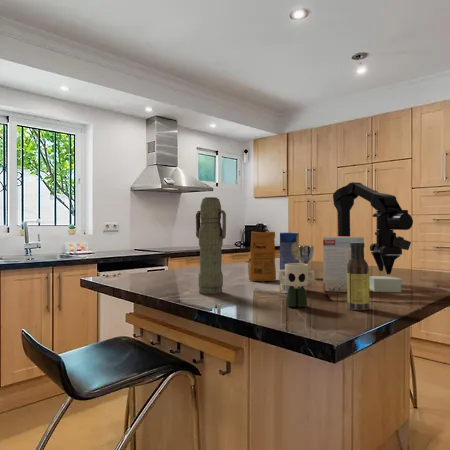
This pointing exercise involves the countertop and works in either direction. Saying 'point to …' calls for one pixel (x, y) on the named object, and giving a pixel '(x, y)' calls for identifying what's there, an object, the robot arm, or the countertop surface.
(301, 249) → the wine glass
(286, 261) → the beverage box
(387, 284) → the sage cover
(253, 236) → the coffee package
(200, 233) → the thermos
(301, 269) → the toy figurine
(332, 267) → the cracker box
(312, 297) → the countertop surface
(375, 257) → the robot arm
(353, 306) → the sauce bottle
